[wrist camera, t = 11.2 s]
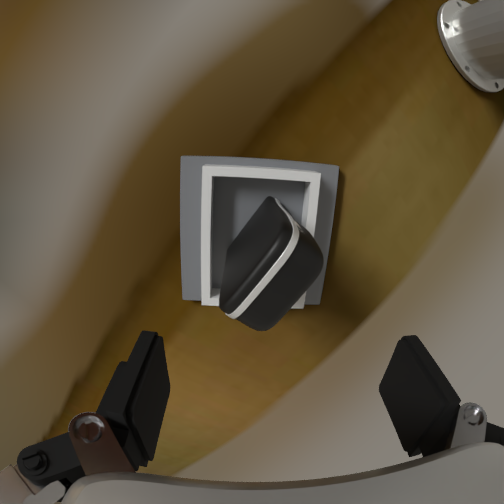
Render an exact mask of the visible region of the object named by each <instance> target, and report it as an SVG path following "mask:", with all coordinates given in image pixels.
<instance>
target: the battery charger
mask: <svg viewBox="0 0 504 504" xmlns="http://www.w3.org/2000/svg"><path fill="white" fill-rule="evenodd" d="M323 263H324V257H323V254H322V251H321V249H320V247H319V246H318V244H317V242H316V241H315V239H314V237H313V236H312V235H311V234H310V232H309V231H308V230H307V229H306V228H305V227H303V226H302V225H301V224H299V223H298V222H297V221H296V220H295V219H294V218H293V217H292V216H291V213H290V212H289V211H288V209H287V208H286V207H285V206H284V205H283V204H281V203H280V201H279V200H278V199H276V198H273V197H272V196H268V197H267V198H266V199H265V200H264V201H263V203H262V204H261V205H260V206H259V208H258V209H257V210H256V212H255V213H254V214H253V216H252V217H251V218H250V219H249V221H248V222H247V223H246V225H245V226H244V227H243V229H242V230H241V231H240V233H239V234H238V235H237V237H236V238H235V239H234V241H233V242H232V243H231V245H230V246H229V248H228V249H227V253H226V261H225V266H224V270H223V276H222V281H221V288H220V296H219V307H220V309H221V310H222V311H223V312H225V314H226V315H227V316H229V317H230V318H232V319H237V320H238V321H240V322H242V323H243V324H245V325H247V326H249V327H250V328H252V329H255V330H257V331H266V330H268V329H270V328H272V327H273V326H274V325H275V324H276V323H277V322H278V321H279V320H280V319H281V318H282V317H283V316H284V315H285V314H286V313H287V312H288V311H289V310H290V309H291V307H292V306H293V305H294V304H295V303H296V302H297V301H298V300H299V299H300V297H301V296H302V295H303V294H304V293H305V292H306V291H307V289H308V288H309V287H310V286H311V285H312V284H313V282H314V281H315V280H316V279H317V277H318V276H319V274H320V273H321V271H322V268H323Z"/></svg>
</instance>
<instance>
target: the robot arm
mask: <svg viewBox="0 0 504 504" xmlns="http://www.w3.org/2000/svg"><path fill="white" fill-rule="evenodd" d="M437 24H438V30H439V34H440V38H441V40H442V43H443V46H444V48H445V50H446V52H447V54H448V56H449V57H450V59H451V61H452V62H453V64H454V65H455V67H456V68H457V70H458V71H459V72H460V73H461V74H462V76H463V77H464V78H465V79H466V80H467V81H468V82H469V83H471V84H472V85H473V86H475V87H476V88H478V89H479V90H482V91H484V92H498V91H500V90H502V89H503V88H504V0H482V1H480V2H477V3H475V4H472V5H471V4H469V3H467V2H465V1H461V0H450V1H448V2H446V3H444V4H443V5H442V6H441V7H440V9H439V11H438V16H437ZM379 392H380V395H381V397H382V399H383V401H384V404H385V406H386V408H387V411H388V413H389V415H390V418H391V420H392V422H393V425H394V427H395V429H396V432H397V434H398V437H399V439H400V442H401V444H402V447H403V449H404V451H407V452H408V455H409V457H412V456H416V455H419V454H421V453H422V455H423V457H422V458H419V459H415V460H412V461H409V462H405V463H401V464H397V465H393V466H389V467H385V468H380V469H376V470H371V471H366V472H361V473H355V474H350V475H343V476H336V477H329V478H322V479H313V480H300V481H283V482H227V481H210V480H197V479H187V478H179V477H171V476H162V475H154V474H145V473H136V472H135V471H138V468H139V466H144V467H147V464H148V460H150V461H152V460H153V458H154V454H155V450H156V446H157V441H158V437H159V433H160V429H161V425H162V421H163V417H164V413H165V409H166V405H167V401H168V397H169V393H170V381H169V376H168V370H167V363H166V357H165V350H164V343H163V338H162V337H161V336H158V333H157V332H151V331H142V332H141V334H140V336H139V338H138V340H137V342H136V344H135V346H134V348H133V350H132V352H131V355H130V357H129V359H128V361H127V362H124V361H121V362H120V363H119V365H118V366H117V368H116V370H115V372H114V375H113V377H112V379H111V381H110V383H109V385H108V387H107V389H106V391H105V394H104V396H103V398H102V400H101V402H100V405H99V407H98V409H97V411H96V413H94V412H85V413H81V414H79V415H77V416H75V417H74V418H73V419H72V420H71V422H70V424H69V427H68V432H67V433H65V434H62V435H59V436H57V437H54V438H51V439H49V440H46V441H43V442H40V443H37V444H34V445H31V446H28V447H26V448H24V449H23V450H22V451H21V452H20V453H19V456H18V458H17V465H15V466H12V465H9V466H8V467H6V468H5V469H4V470H2V471H1V472H0V504H54V503H55V502H61V504H504V428H501V427H499V426H496V425H494V424H491V423H488V422H487V415H486V413H485V411H484V410H483V408H482V407H480V406H479V405H477V404H475V403H465V404H463V405H462V406H460V405H459V403H460V401H461V400H460V398H459V396H458V395H457V393H456V392H455V390H454V389H453V387H452V386H451V384H450V383H449V381H448V380H447V378H446V377H445V375H444V374H443V372H442V371H441V369H440V368H439V366H438V365H437V363H436V362H435V361H434V359H433V358H432V356H431V355H430V354H429V352H428V351H427V349H426V348H425V347H424V345H423V344H422V342H421V341H420V339H419V338H418V337H417V336H416V335H411V336H403V337H402V338H401V340H399V341H398V343H397V346H396V348H395V350H394V353H393V355H392V358H391V360H390V363H389V365H388V368H387V370H386V372H385V374H384V376H383V379H382V381H381V383H380V385H379Z"/></svg>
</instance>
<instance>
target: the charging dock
mask: <svg viewBox="0 0 504 504" xmlns="http://www.w3.org/2000/svg"><path fill="white" fill-rule="evenodd" d="M338 174H339V166H336V165H329V164H320V163H311V162H300V161H289V160H277V159H263V158H246V157H222V156H181V177H180V179H181V180H180V239H181V273H182V295H183V300H198V301H202V305H211V306H219V296H220V288H221V281H222V276H223V270H224V266H225V261H226V253H227V249H228V248H229V246H230V245H231V243H232V242H233V241H234V239H235V238H236V237H237V235H238V234H239V233H240V231H241V230H242V229H243V227H244V226H245V225H246V223H247V222H248V221H249V219H250V218H251V217H252V216H253V214H254V213H255V212H256V210H257V209H258V208H259V206H260V205H261V204H262V203H263V201H264V200H265V199H266V198H267V197H268V196H272V197H273V198H276V199H278V200H279V201H280V203H281V204H283V205H284V206H285V207H286V208H287V209H288V211H289V212H290V213H291V216H292V217H293V218H294V219H295V220H296V221H297V222H298V223H299V224H301V225H302V226H303V227H305V228H306V229H307V230H308V231H309V232H310V234H311V235H312V236H313V237H314V239H315V241H316V242H317V244H318V246H319V247H320V249H321V251H322V254H323V257H324V263H323V268H322V271H321V273H320V274H319V276H318V277H317V279H316V280H315V281H314V282H313V284H312V285H311V286H310V287H309V288H308V289H307V291H306V292H305V293H304V294H303V295H302V296H301V297H300V299H299V300H298V301H297V302H296V303H295V304H294V305H293V306H292V307H291V308H297V309H303V308H304V304H313V305H320V300H321V294H322V289H323V283H324V277H325V271H326V265H327V259H328V253H329V246H330V239H331V232H332V225H333V217H334V209H335V201H336V193H337V184H338Z"/></svg>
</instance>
